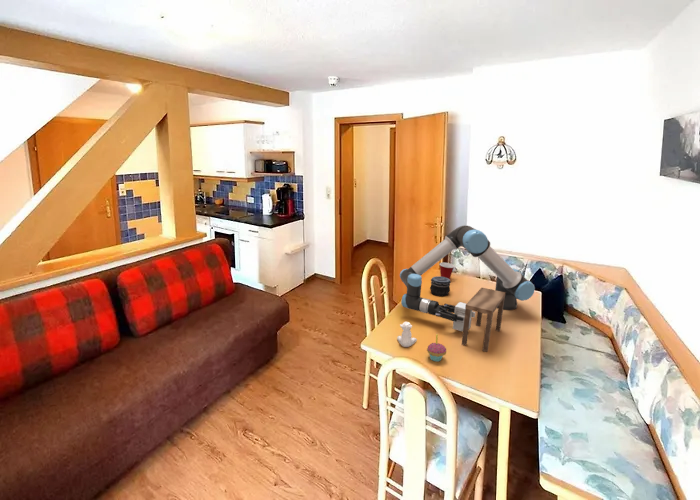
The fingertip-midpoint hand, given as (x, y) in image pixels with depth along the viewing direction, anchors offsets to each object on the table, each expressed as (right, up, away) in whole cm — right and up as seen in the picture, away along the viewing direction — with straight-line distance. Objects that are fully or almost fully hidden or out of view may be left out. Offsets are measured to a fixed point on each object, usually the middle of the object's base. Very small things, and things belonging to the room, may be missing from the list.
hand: (472, 317), depth 192 cm
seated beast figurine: (-35, -11, -8) cm, 38 cm away
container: (-3, +6, +56) cm, 57 cm away
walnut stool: (+4, -10, 0) cm, 11 cm away
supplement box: (-4, -6, +5) cm, 9 cm away
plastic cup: (+7, +12, +81) cm, 82 cm away
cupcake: (-23, -15, -21) cm, 34 cm away
